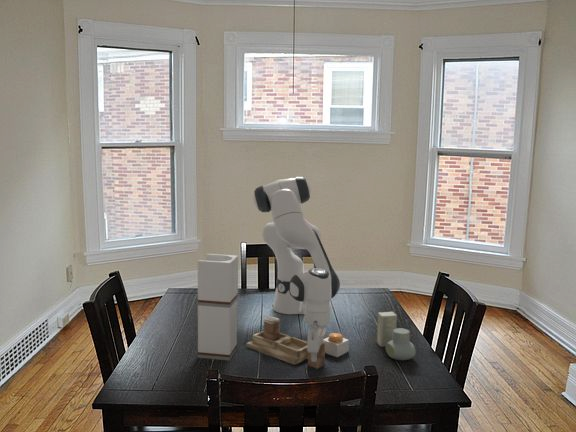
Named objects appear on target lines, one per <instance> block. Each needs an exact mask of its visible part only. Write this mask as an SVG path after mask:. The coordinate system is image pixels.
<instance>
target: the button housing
mask: <svg viewBox="0 0 576 432" xmlns="http://www.w3.org/2000/svg"><path fill="white" fill-rule="evenodd" d="M328 338H329V336H328V337H326V338H323V340H325V354H328V355H330V356H333V357H336V358H338V357H340V356H342V355H344V354H347V353H348V352H349V345H350V339H347V338H345V337H343V341H340V342H338V343H335V342H332V341H329V340H328Z"/></svg>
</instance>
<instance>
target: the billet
mask: <svg viewBox="0 0 576 432" xmlns="http://www.w3.org/2000/svg"><path fill="white" fill-rule="evenodd" d="M325 354H326V353H325V340H322V343H321V345H320V348H319V351H318V353H317V361H316V362H312V361H311V353H308V359H307V366H308V367H311V368H314V369H319V368H321V367H323V366H325Z"/></svg>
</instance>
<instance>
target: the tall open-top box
mask: <svg viewBox="0 0 576 432" xmlns="http://www.w3.org/2000/svg"><path fill="white" fill-rule="evenodd" d="M238 291H239V255H233V254H220V253H217V254H216V253H206V260H203V259H202V260H201V259H198V260H197V358H199V359H210V360H218V361H219V360H221V361H229V362H230V360H231V359H232V358H233V356H234V355H235V353H236V352H237V350H238V343H237V337H238V336H237V335H238V333H237V332H238V331H237V327H238V326H237V325H238V324H237V323H238V322H237V321H238V319H237V318H238V315H237V314H238V303H239V302H238V301H239V297H238V296H239V292H238Z"/></svg>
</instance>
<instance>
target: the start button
mask: <svg viewBox="0 0 576 432" xmlns="http://www.w3.org/2000/svg"><path fill="white" fill-rule="evenodd" d="M328 337H329V338H328V340H329V341H332V342H335V343H338V342H340V341H343V338H344V337H343V335H342V334H341V333H340V332H339V333H338V332H337V333H336V332H332V333H329V334H328Z"/></svg>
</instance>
